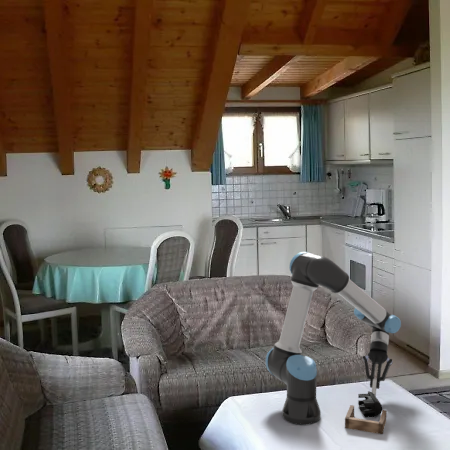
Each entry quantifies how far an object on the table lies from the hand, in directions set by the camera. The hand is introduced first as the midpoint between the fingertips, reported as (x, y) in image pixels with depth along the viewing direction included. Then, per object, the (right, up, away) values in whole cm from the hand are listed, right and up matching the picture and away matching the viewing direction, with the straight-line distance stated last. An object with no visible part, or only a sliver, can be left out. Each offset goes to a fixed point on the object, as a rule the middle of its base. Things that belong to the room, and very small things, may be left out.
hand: (373, 395), depth 241 cm
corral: (-8, -6, -19) cm, 21 cm away
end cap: (-4, -5, -8) cm, 10 cm away
